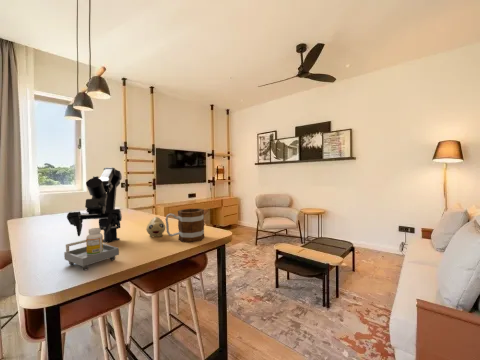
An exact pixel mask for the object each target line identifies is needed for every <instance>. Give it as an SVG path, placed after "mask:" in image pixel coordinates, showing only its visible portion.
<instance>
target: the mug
mask: <svg viewBox="0 0 480 360" xmlns="http://www.w3.org/2000/svg"><path fill="white" fill-rule="evenodd" d="M204 212H205V209H203V208H183V209H180V210H179V209H178V210H177V215H176V214H174V213H168V214H166V216H165V231H166V234H167V235H168V237H169V236H170V237H175V236H178V242H179V241H180V242H181V243H197V242H202V241H203V240H204V239H205V238H206V237H205V219H204ZM170 216H172V217H173V218H174V219H176V220H178V221H177V222H178V223H177V226H178V227H177V228H178V231H177V232H175V233H170V228H169V227H170V226H169V225H170V224H169V217H170Z"/></svg>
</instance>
